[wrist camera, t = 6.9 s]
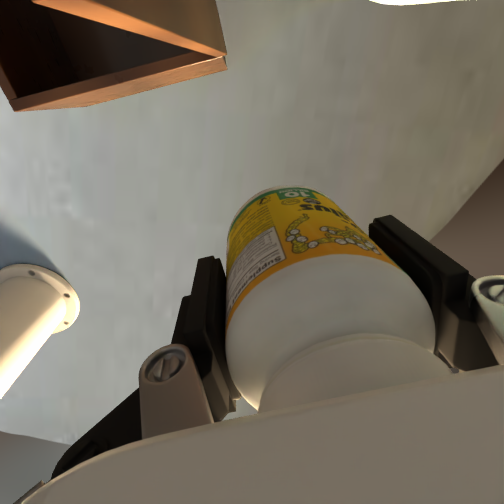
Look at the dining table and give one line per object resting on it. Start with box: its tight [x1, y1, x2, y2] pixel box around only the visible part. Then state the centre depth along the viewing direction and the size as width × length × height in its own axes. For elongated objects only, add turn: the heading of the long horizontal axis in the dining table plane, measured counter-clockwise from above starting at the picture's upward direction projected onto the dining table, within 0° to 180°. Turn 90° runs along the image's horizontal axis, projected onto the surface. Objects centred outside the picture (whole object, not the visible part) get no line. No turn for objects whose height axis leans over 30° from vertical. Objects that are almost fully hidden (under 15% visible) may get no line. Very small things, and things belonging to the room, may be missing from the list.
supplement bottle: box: [225, 186, 453, 413], centre depth 9 cm, size 5×5×10 cm
